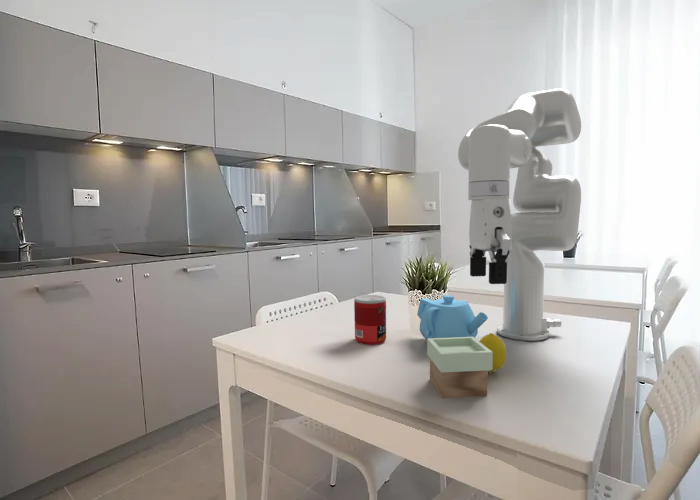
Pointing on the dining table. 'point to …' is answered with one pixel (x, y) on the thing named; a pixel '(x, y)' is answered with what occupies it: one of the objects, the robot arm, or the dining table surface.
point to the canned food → (370, 319)
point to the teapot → (448, 318)
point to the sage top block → (459, 354)
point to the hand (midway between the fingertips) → (487, 279)
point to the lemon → (495, 350)
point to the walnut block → (459, 382)
